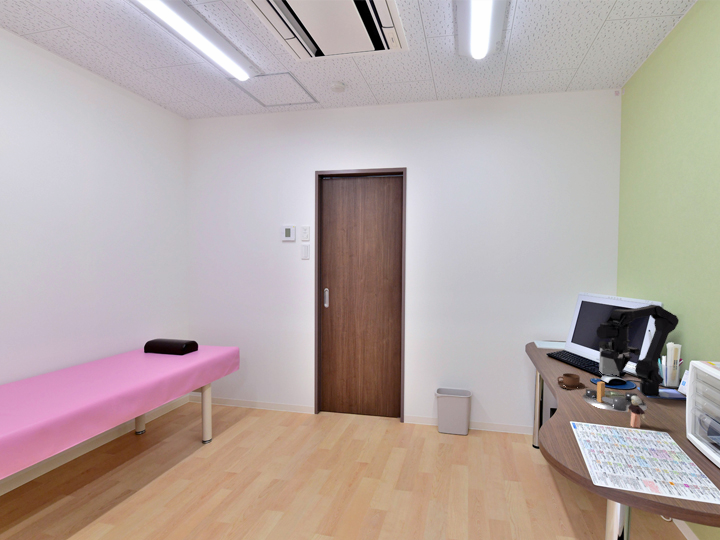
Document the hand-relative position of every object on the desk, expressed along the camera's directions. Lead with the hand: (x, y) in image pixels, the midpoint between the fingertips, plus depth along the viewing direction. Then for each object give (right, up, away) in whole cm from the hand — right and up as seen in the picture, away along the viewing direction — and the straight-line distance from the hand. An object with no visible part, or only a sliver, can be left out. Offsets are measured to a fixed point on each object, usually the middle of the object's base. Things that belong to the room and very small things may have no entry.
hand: (620, 371), depth 183 cm
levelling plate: (-8, -13, -7) cm, 16 cm away
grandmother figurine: (-15, -14, -32) cm, 38 cm away
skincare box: (+16, -11, +33) cm, 38 cm away
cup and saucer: (-15, -12, +15) cm, 24 cm away
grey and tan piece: (-12, -11, -13) cm, 21 cm away
